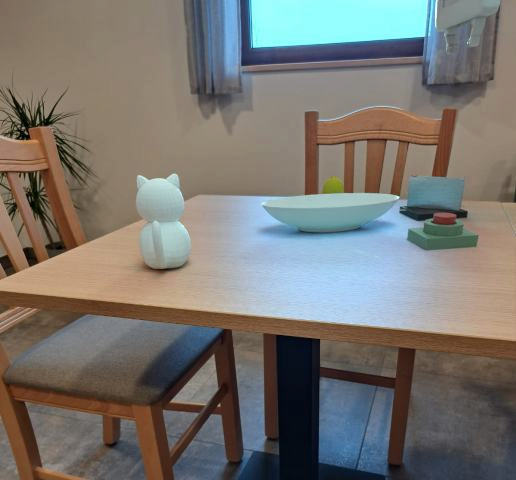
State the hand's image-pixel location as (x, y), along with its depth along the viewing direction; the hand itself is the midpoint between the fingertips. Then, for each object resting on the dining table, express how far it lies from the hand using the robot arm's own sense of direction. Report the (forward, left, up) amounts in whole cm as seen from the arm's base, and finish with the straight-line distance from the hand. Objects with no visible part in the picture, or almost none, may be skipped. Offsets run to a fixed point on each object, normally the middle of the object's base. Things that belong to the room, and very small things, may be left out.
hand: (461, 50), depth 96 cm
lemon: (+22, -14, -34) cm, 42 cm away
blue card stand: (+2, +1, -32) cm, 32 cm away
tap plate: (+2, +1, -33) cm, 33 cm away
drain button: (+12, +24, -30) cm, 40 cm away
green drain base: (+12, +24, -33) cm, 43 cm away
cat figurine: (+64, +25, -34) cm, 77 cm away
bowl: (+29, +7, -34) cm, 45 cm away
